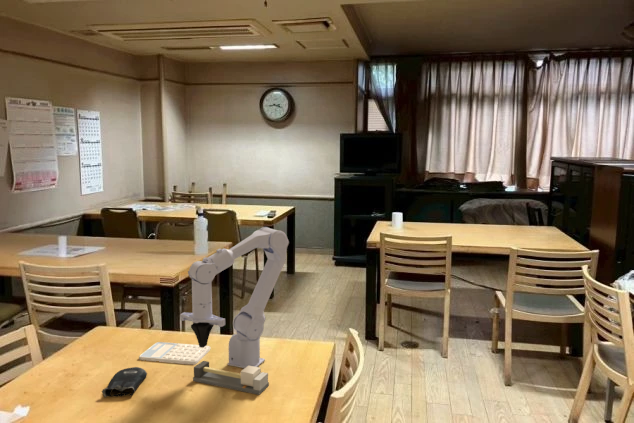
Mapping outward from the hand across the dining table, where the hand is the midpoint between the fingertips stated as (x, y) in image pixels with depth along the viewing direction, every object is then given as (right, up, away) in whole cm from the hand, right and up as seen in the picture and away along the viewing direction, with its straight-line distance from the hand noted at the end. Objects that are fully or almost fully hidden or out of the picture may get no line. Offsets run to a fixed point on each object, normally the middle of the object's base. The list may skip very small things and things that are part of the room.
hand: (203, 346), depth 153 cm
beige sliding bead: (+15, -9, -6) cm, 18 cm away
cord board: (+9, -10, -3) cm, 14 cm away
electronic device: (-21, -11, -5) cm, 24 cm away
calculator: (-13, -8, +17) cm, 23 cm away
